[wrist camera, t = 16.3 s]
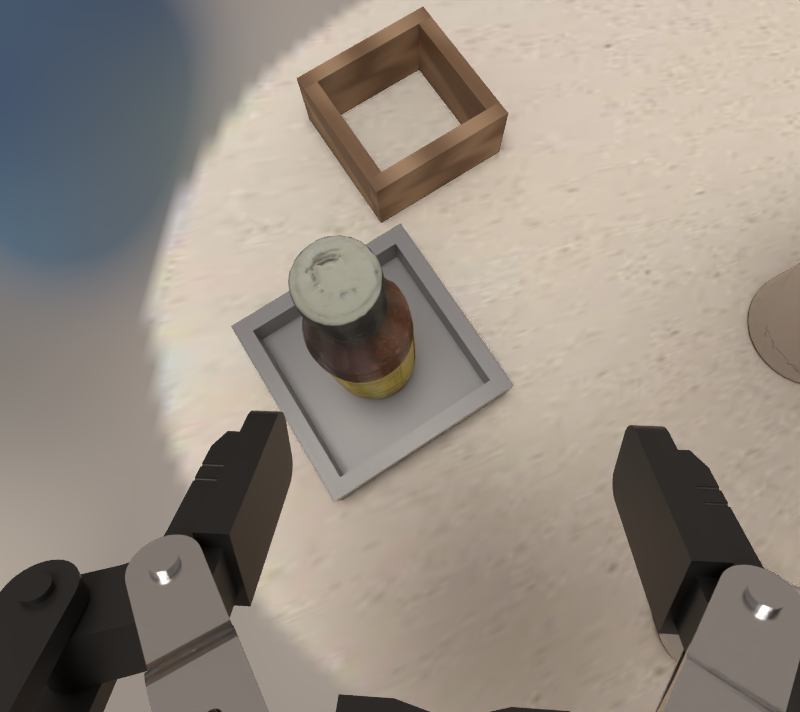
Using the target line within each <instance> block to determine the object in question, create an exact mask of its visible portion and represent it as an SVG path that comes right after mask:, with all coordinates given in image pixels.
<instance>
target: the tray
mask: <svg viewBox="0 0 800 712" xmlns="http://www.w3.org/2000/svg"><path fill="white" fill-rule="evenodd" d="M366 246H367V247H369V248H370V249H371V251H372V252H373V253H374V254H375V255H376V257H377V258H378V260H379V262H380V264H381V267H382V271H383V274H384V277H385V278H386V279H387V280H390V281H392V282H394V283H395V284H396V285H397V286H398V288H399V289H400V290H401V292H402V293H403V295H404V296H405V298H406V300H407V303H408V305H409V310H410V313H411V316H412V320H413V327H414V338H415V351H416V358H415V366H414V370H413V372H412V375H411V376H410V378H409V380H408V381H407V383H406V384H405V385H404V386H403V388H402V389H401V390H399V391H398V392H396V393H394V394H392V395H390V396H387V397H385V398H379V399H369V398H363V397H360V396H357V395H355V394H353V393H351V392H350V391H348V390H347V389H346V388H344V387H343V386H342V385H341V384H340V383H339V382H338V381H337V380H336V379H335V378H334V377H332V376H331V375H330V374H329V373H328V372H326V371H325V370H324V369H323V368H322V367H321V366H320V365H319V364H318V363H317V362H316V361H315V360H314V358H313V357H312V356H311V354H310V352H309V351H308V349H307V347H306V344H305V341H304V338H303V333H302V319H303V317H302V316H301V314H300V313H299V311H298V310H297V308H296V307H295V305H294V303H293V301H292V298H291V295H290V291H288V292H287V293H285V294H284V295H282V296H280V297H279V298H277V299H275V300H274V301H272V302H270V303H269V304H267V305H265V306H264V307H262V308H260V309H259V310H257V311H255V312H254V313H252V314H251V315H249V316H247V317H246V318H244V319H242V320H241V321H239V322H237V323H236V324H234V325H232V326H231V327H232V329H233V330H234V332H235V334H236V335H237V337H238V339H239V340H240V342H241V344H242V346H243V347H244V349H245V351H246V352H247V354H248V356H249V357H250V359H251V361H252V363H253V364H254V366H255V368H256V369H257V371H258V373H259V375H260V376H261V378H262V380H263V381H264V383H265V385H266V386H267V388H268V390H269V392H270V393H271V395H272V397H273V398H274V400H275V402H276V403H277V405H278V407H279V409H280V410H281V412H283V413H284V415H285V419H286V421H287V422H288V424H289V426H290V427H291V429H292V431H293V432H294V434H295V436H296V438H297V439H298V441H299V443H300V444H301V446H302V448H303V450H304V451H305V453H306V455H307V456H308V458H309V460H310V461H311V463H312V465H313V467H314V468H315V470H316V472H317V473H318V475H319V477H320V478H321V480H322V482H323V484H324V485H325V487H326V489H327V490H328V492H329V494H330V496H331V497H332V499H333V501H334V502H336V501H339V500H342V499H344V498H345V497H347V496H348V495H350V494H351V493H353V492H354V491H356V490H357V489H359V488H360V487H362V486H364V485H365V484H367V483H368V482H370V481H371V480H373V479H374V478H376V477H377V476H379V475H380V474H382V473H384V472H385V471H387V470H388V469H390V468H391V467H393V466H394V465H396V464H397V463H399V462H400V461H402V460H403V459H405V458H407V457H408V456H410V455H411V454H413V453H414V452H416V451H417V450H419V449H420V448H422V447H423V446H425V445H427V444H428V443H430V442H431V441H433V440H434V439H436V438H437V437H439V436H440V435H442V434H443V433H445V432H446V431H448V430H450V429H451V428H453V427H454V426H456V425H457V424H459V423H460V422H462V421H463V420H465V419H466V418H468V417H470V416H471V415H473V414H474V413H476V412H477V411H479V410H480V409H482V408H483V407H485V406H486V405H488V404H490V403H491V402H493V401H494V400H496V399H497V398H499V397H500V396H502V395H503V394H505V393H506V392H507V391H508V390H509V389H510V388H511V387H512V386H513V383H512V382H511V381H510V379H509V378H508V376H507V375H506V373H505V372H504V371H503V369H502V368H501V366H500V365H499V363H498V362H497V361H496V359H495V358H494V356H493V355H492V353H491V352H490V351H489V349H488V348H487V346H486V345H485V343H484V342H483V341H482V339H481V338H480V336H479V335H478V333H477V332H476V331H475V329H474V328H473V326H472V325H471V323H470V322H469V321H468V319H467V318H466V316H465V315H464V313H463V312H462V311H461V309H460V308H459V306H458V305H457V303H456V302H455V301H454V299H453V298H452V296H451V295H450V293H449V292H448V291H447V289H446V288H445V286H444V285H443V283H442V282H441V281H440V279H439V278H438V276H437V275H436V273H435V272H434V271H433V269H432V268H431V266H430V265H429V263H428V262H427V261H426V259H425V258H424V256H423V255H422V253H421V252H420V251H419V249H418V248H417V246H416V245H415V243H414V242H413V241H412V239H411V238H410V236H409V235H408V233H407V232H406V231H405V229H404V228H403V226H402V225H401V224H399V225H397V226H396V227H394V228H392V229H391V230H389V231H387V232H386V233H384V234H382V235H381V236H379V237H377V238H376V239H374V240H373V241H371V242H369V243H368V244H366Z"/></svg>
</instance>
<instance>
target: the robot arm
mask: <svg viewBox="0 0 800 712" xmlns="http://www.w3.org/2000/svg"><path fill="white" fill-rule="evenodd" d="M748 325H749V330H750V336H751V338H752V341H753V343H754V346H755V348H756V350H757V351H758V352H759V354H760V355H761V357H762V358H763V360H764V361H765V362H766V363H767V364H768V365H769V366H770V367H771V368H772V369H774V370H775V371H777V372H778V373H779V374H781V375H782V376H784V377H786V378H788V379H791V380H793V381H795V382H798V383H800V263H799V264H798V265H796V266H794V267H792V268H791V269H789V270H787V271H785V272H784V273H782V274H780V275H778V276H776V277H775V278H773V279H772V280H770V281H769V282H767V283H765V284H764V285H763V286H762V288H761V289H760V290H759V291H758V292H757V293H756V295H755V297H754V299H753V300H752V303H751V306H750V310H749V320H748ZM202 464H203V465H202V467H200V469H199V471H198V472H197V474H196V476H195V481H193V482H192V484H191V486H190V488H189V490H188V492H187V493H186V495H185V497H184V499H183V501H182V503H181V505H180V507H179V509H178V511H177V513H176V514H175V516H174V518H173V520H172V522H171V524H170V526H169V528H168V530H167V532H166V533H165V535H164V536H163V537H161V538H158V539H156V540H154V541H152V542H150V543H148V544H147V545H145V546H144V547H143V548H141V549H140V550H139V551H138V552H137V553H136V554H135V555H134V557H133V558H132V559H131V561H130V562H129V563H127V564H123V565H120V566H116V567H111V568H107V569H103V570H98V571H94V572H89V573H85V574H80V573H79V571H78V569H77V567H76V566H75V565H74V564H72V563H70V562H69V561H65V560H50V561H45V562H42V563H39V564H36V565H34V566H31V567H29V568H28V569H26V570H24V571H22V572H21V573H20V574H18V575H17V576H15V577H14V578H13V579H12V580H11V581H10V582H9V583H8V584H7V585H6V586H5V587H4V588H3V589H2V591H1V592H0V712H103V711H104V709H105V707H106V704H107V702H108V700H109V697H110V695H111V693H112V690H113V688H114V685H115V683H116V681H117V679H119V678H123V677H127V676H130V675H134V674H138V673H141V672H145V671H147V672H146V673H145V675H144V677H145V684H146V689H147V694H148V697H149V701H150V706H151V710H152V712H269V711H268V709H267V706H266V704H265V701H264V699H263V696H262V694H261V691H260V689H259V686H258V684H257V682H256V679H255V677H254V674H253V672H252V669H251V667H250V665H249V662H248V659H247V657H246V655H245V652H244V650H243V647H242V645H241V642H240V640H239V637H238V635H237V633H236V630H235V628H234V626H233V625H232V623H231V621H230V619H229V618H230V615H231V612H232V609H233V607H234V605H238V606H251V603H252V600H253V597H254V594H255V591H256V588H257V584H258V581H259V578H260V575H261V572H262V569H263V566H264V563H265V560H266V557H267V554H268V550H269V547H270V544H271V541H272V538H273V535H274V532H275V529H276V526H277V523H278V520H279V516H280V513H281V510H282V507H283V504H284V501H285V498H286V495H287V492H288V489H289V486H290V482H291V477H292V466H293V464H292V454H291V448H290V442H289V436H288V431H287V425H286V419H285V415H284V413H283V412H277V411H251V412H250V413H249V414H248V416H247V418H246V420H245V422H244V424H243V426H242V428H241V430H240V432H237V431H227V432H226V433H225V434H224V435H223V436H222V437H221V438H220V439H219V440H217V441H216V442H215V443H214V444H213V445H212V446H211V448H210V450H209V451H208V453H207V455H206V457H205V459H204V461H203V463H202ZM613 494H614V499H615V502H616V505H617V509H618V512H619V515H620V518H621V521H622V524H623V527H624V530H625V533H626V536H627V539H628V542H629V545H630V548H631V551H632V554H633V557H634V560H635V563H636V566H637V570H638V573H639V576H640V579H641V582H642V585H643V588H644V591H645V594H646V597H647V600H648V603H649V606H650V609H651V612H652V615H653V618H654V621H655V624H656V627H657V630H658V634H674V635H679V637H680V640H681V643H682V646H683V651H682V653H681V655H680V657H679V659H678V661H677V663H676V666H675V668H674V670H673V672H672V675H671V677H670V679H669V681H668V683H667V686H666V688H665V690H664V692H663V695H662V697H661V699H660V701H659V703H658V706H657V708H656V710H655V712H800V594H799V593H798V592H797V591H796V590H795V589H794V587H792V586H791V585H790V584H789V583H788V582H787V581H785V580H784V579H782V578H781V577H779V576H778V575H776V574H774V573H772V572H770V571H768V570H766V569H764V568H763V566H762V564H761V562H760V561H759V559H758V557H757V555H756V553H755V552H754V550H753V548H752V546H751V544H750V542H749V541H748V539H747V537H746V535H745V533H744V531H743V530H742V528H741V526H740V524H739V522H738V521H737V519H736V517H735V515H734V513H733V511H732V510H731V508H730V507H728V505H727V504H728V502H727V500H726V499H725V497H724V495H723V493H722V491H719V486H718V484H717V482H716V480H715V479H714V477H713V475H712V473H711V471H710V469H709V468H708V467H707V466H706V465H705V464H704V463H703V462H702V461H701V460H700V459H699V458H697V457H696V456H695V455H694V454H693V453H692V452H691V451H690V450H678V449H677V448H676V446H675V444H674V442H673V440H672V438H671V436H670V434H669V432H668V430H667V429H666V428H665V427H663V426H636V425H630V426H628V427H627V429H626V431H625V434H624V438H623V441H622V445H621V448H620V452H619V455H618V459H617V462H616V466H615V469H614V473H613ZM336 712H429V711H426V710H424V709H421V708H418V707H416V706H413V705H410V704H408V703H405V702H402V701H399V700H397V699H394V698H380V697H367V696H353V695H339V697H338V702H337V708H336ZM492 712H569V711H558V710H545V709H531V708H517V707H510V708H505V709H501V710H496V711H492Z"/></svg>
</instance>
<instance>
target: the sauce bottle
mask: <svg viewBox="0 0 800 712" xmlns="http://www.w3.org/2000/svg"><path fill="white" fill-rule="evenodd" d="M288 281H289V291H290V295H291V298H292V301H293V303H294V305H295V307H296V308H297V310H298V311H299V313H300V314H301V316H302V317H303V319H302V333H303V338H304V341H305V344H306V347H307V349H308V351H309V352H310V354H311V356H312V357H313V358H314V360H315V361H316V362H317V363H318V364H319V365H320V366H321V367H322V368H323V369H324V370H325V371H326V372H328V373H329V374H330V375H331V376H332V377H334V378H335V379H336V380H337V381H338V382H339V383H340V384H341V385H342V386H343V387H344V388H346V389H347V390H348V391H350V392H351V393H353V394H355V395H357V396H360V397H363V398H369V399H379V398H385V397H387V396H390V395H392V394H394V393H396V392H398V391H399V390H401V389H402V388H403V386H404V385H405V384H406V383H407V381H408V380H409V378H410V376H411V375H412V372H413V370H414V366H415V358H416V351H415V338H414V327H413V320H412V316H411V313H410V310H409V305H408V303H407V300H406V298H405V296H404V295H403V293H402V292H401V290H400V289H399V288H398V286H397V285H396V284H395V283H394V282H392V281H390V280H387V279H386V278H385V277H384V274H383V271H382V267H381V264H380V262H379V260H378V258H377V257H376V255H375V254H374V253H373V252H372V251H371V249H370V248H369V247H367V246H366V245H364V244H363V243H362V242H361V241H358V240H356V239H354V238H352V237H345V236H340V235H339V236H327V237H324V238H321V239H319V240H317V241H315V242H314V243H312V244H310V245H309V246H308V247H306V248H305V249H304V250H303V251H302V252H301V253H300V254H299V255H298V257H297V258H296V259H295V261H294V263H293V266H292V268H291V270H290V273H289V280H288Z"/></svg>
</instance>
